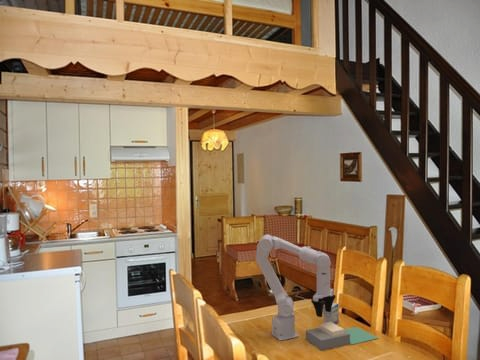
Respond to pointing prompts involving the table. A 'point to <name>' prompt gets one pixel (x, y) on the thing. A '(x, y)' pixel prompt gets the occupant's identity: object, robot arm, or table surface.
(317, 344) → the block
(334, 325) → the white flat block
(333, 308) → the medicine box
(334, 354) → the table surface
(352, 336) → the mat
